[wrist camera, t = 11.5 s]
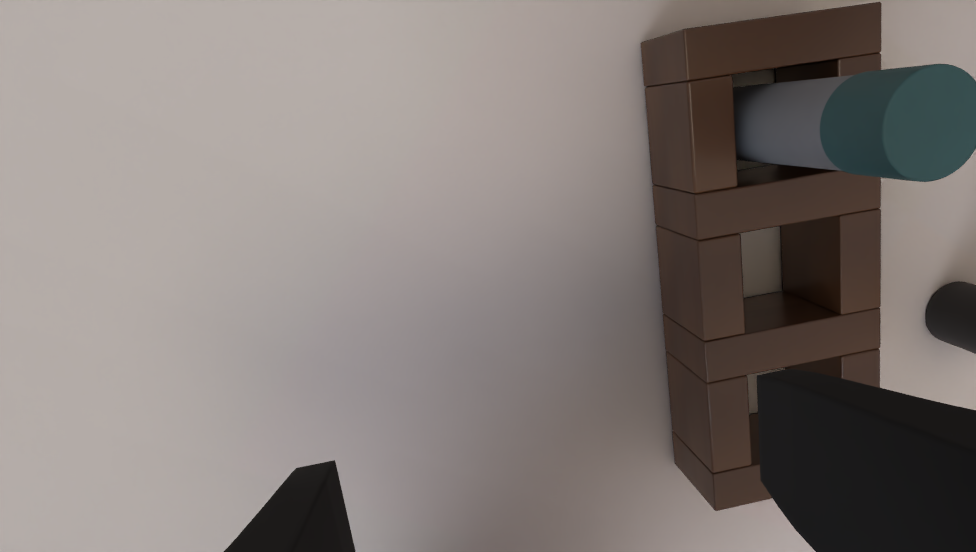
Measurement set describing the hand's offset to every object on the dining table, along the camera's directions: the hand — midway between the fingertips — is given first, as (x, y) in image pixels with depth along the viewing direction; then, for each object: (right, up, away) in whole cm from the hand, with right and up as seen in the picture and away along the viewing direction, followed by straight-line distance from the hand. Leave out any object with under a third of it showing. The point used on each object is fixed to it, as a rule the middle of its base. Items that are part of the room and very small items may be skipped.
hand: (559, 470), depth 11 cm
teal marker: (+7, +8, +10) cm, 14 cm away
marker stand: (+7, +4, +11) cm, 14 cm away
